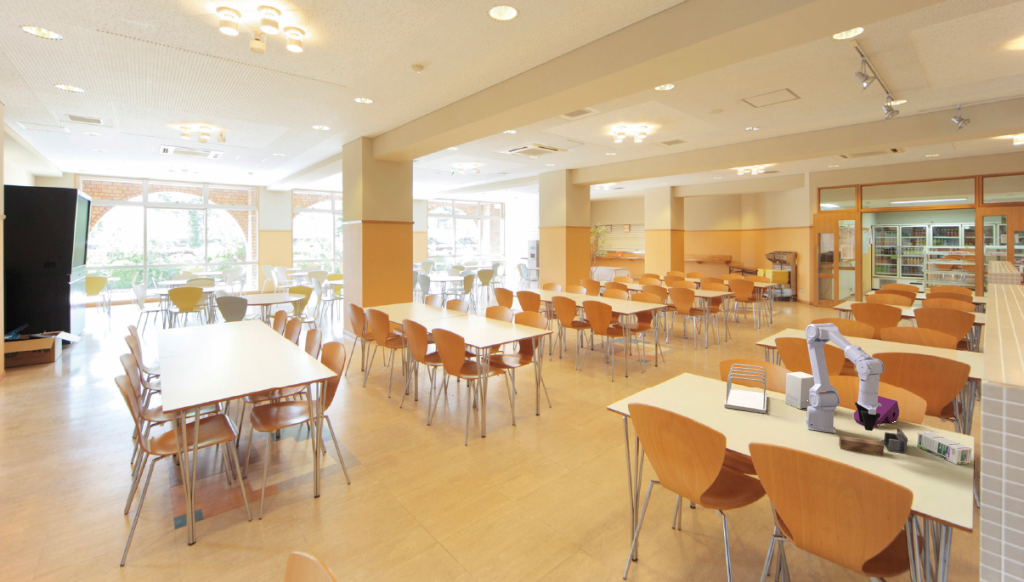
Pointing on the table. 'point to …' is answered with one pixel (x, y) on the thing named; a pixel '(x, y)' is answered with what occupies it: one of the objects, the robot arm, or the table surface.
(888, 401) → the mounting bracket
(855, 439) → the rail
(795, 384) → the supplement box
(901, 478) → the table surface
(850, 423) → the table surface
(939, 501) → the table surface
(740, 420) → the table surface
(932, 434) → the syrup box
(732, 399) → the file sorter
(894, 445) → the bracket
